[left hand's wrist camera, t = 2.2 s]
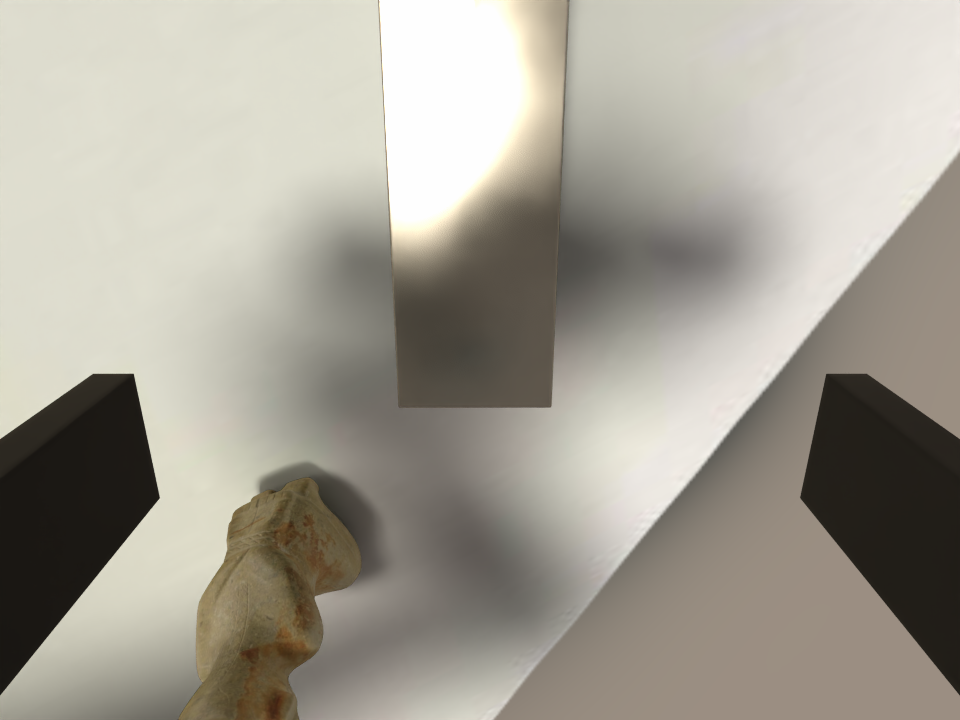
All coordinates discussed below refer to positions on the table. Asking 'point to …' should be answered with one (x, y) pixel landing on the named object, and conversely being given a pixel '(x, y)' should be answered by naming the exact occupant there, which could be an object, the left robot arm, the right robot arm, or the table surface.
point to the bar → (474, 196)
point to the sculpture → (268, 603)
